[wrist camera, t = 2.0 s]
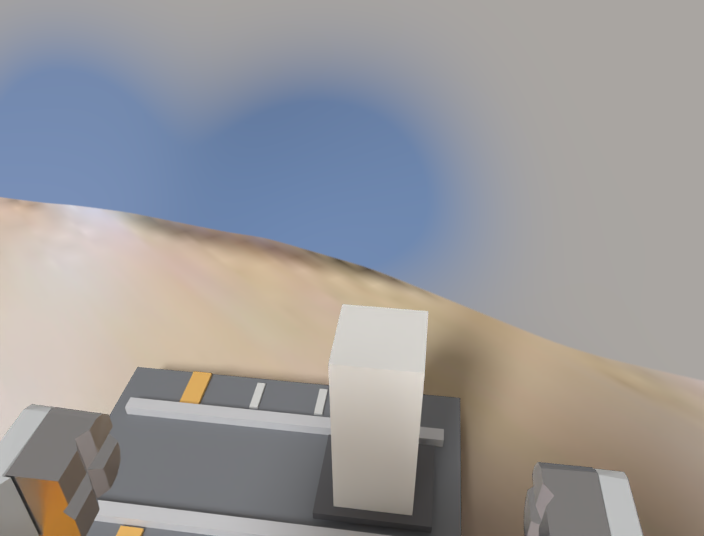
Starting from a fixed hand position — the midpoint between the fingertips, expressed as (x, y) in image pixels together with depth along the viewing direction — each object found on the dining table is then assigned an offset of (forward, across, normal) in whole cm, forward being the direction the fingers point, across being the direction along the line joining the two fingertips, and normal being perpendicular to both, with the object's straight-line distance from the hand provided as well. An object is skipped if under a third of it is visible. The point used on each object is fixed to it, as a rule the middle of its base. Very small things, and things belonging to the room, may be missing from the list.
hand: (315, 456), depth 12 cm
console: (+13, +6, +21) cm, 26 cm away
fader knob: (+13, 0, +19) cm, 23 cm away
